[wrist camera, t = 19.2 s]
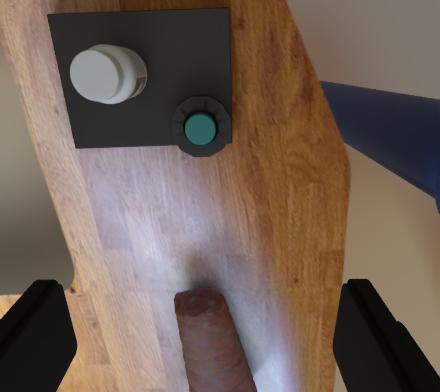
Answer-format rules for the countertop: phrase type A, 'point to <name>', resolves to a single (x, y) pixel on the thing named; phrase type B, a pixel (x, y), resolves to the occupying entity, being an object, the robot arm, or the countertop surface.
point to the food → (211, 343)
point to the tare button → (200, 128)
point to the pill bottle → (108, 74)
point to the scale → (152, 76)
